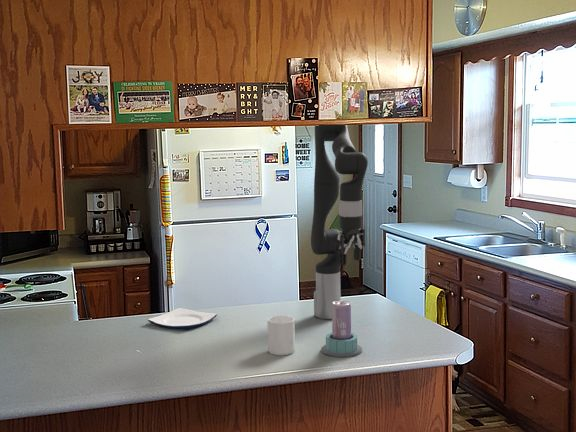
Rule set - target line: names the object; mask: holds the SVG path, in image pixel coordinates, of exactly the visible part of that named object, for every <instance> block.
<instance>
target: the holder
mask: <svg viewBox="0 0 576 432" xmlns="http://www.w3.org/2000/svg"><path fill="white" fill-rule="evenodd" d="M321 353H322V354H323V355H325V356H328V357H333V358H341V359H342V358H351V357H357V356H359V355H361V354H362V353H363V348H362V346H361V345H359V344H358V335H357V334H355V332H354V333H353V332H351V339H348V340H336V339H333V334H332V332H330V333H327V334H326V335H325V344H324V345H323V346H322V347H321Z"/></svg>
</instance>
